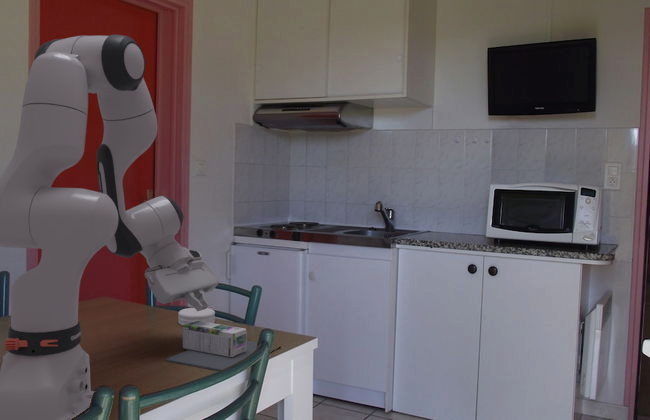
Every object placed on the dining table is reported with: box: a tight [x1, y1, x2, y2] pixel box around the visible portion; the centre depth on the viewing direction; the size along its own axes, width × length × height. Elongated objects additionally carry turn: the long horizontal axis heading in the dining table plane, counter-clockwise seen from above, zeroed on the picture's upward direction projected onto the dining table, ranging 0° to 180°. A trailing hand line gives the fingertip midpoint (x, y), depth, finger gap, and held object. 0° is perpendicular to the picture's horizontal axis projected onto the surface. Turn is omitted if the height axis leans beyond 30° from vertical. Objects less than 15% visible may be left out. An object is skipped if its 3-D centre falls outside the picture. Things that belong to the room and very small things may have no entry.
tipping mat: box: [164, 340, 258, 372], centre depth 149 cm, size 17×22×1 cm
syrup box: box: [182, 321, 248, 357], centre depth 150 cm, size 6×6×14 cm
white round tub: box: [177, 307, 216, 327], centre depth 177 cm, size 10×10×4 cm
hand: (203, 308), depth 151 cm, fingers closed
